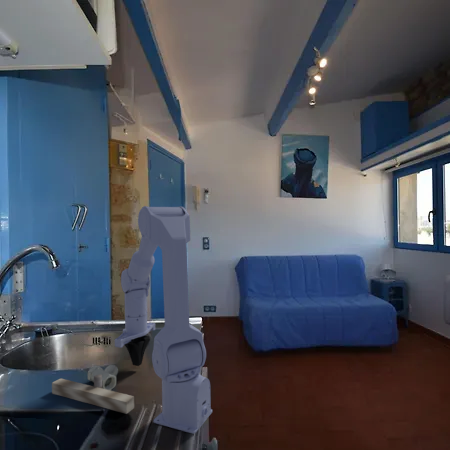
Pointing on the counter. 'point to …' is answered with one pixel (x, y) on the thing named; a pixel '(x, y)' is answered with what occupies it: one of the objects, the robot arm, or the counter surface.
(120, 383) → the counter surface
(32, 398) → the counter surface
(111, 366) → the pipe fitting
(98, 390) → the light wooden bar
